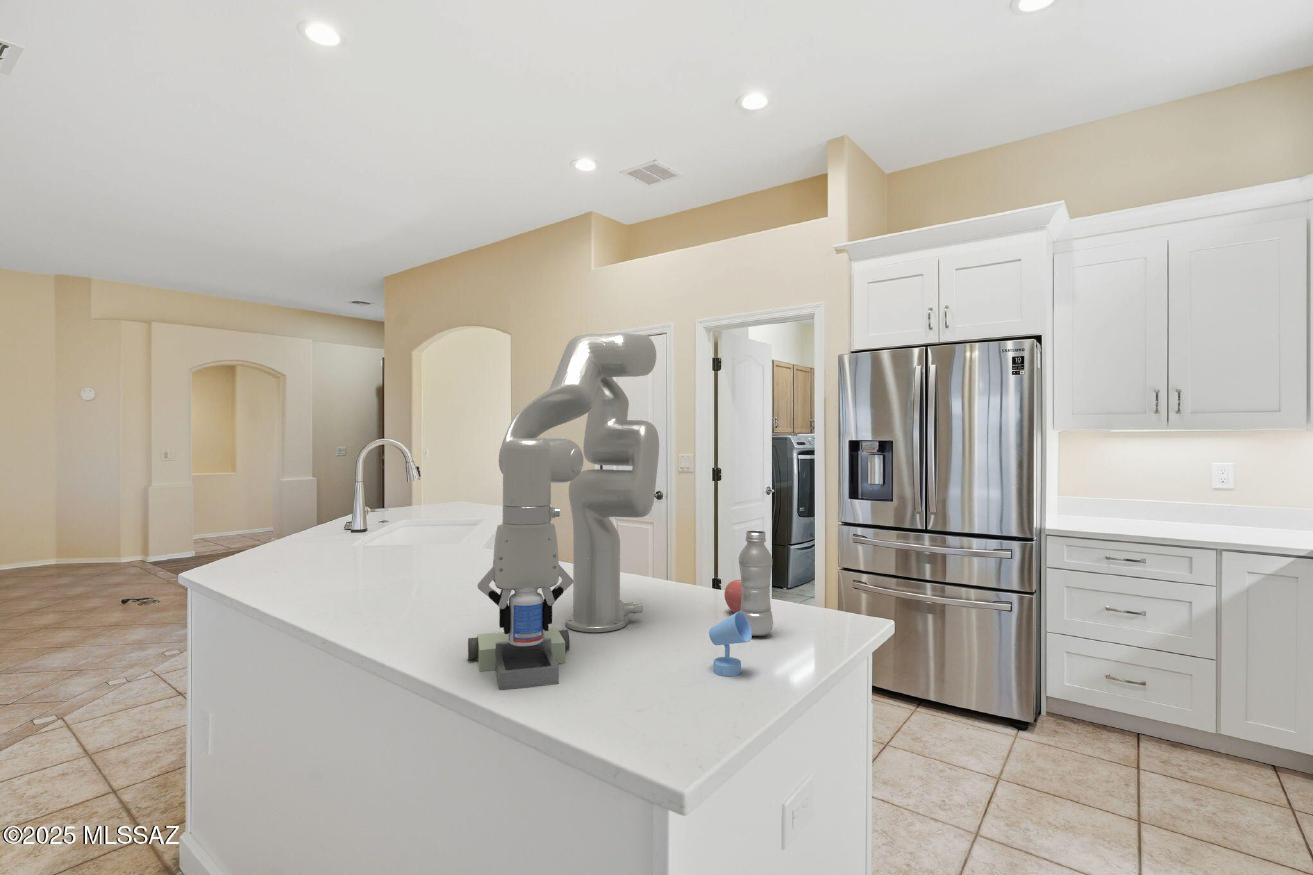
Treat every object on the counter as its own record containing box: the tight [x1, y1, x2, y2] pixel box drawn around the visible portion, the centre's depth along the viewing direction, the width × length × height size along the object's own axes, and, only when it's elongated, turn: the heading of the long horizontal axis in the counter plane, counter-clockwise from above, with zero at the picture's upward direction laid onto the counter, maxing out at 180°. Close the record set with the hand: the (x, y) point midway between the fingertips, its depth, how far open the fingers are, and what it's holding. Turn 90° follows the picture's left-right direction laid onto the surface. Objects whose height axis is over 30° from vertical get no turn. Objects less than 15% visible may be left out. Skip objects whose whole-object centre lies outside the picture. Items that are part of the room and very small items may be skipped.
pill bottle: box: [508, 588, 544, 646], centre depth 104 cm, size 6×5×10 cm
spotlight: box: [708, 611, 753, 677], centre depth 107 cm, size 5×10×7 cm
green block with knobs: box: [467, 627, 571, 672], centre depth 113 cm, size 17×9×4 cm, turn 107°
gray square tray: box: [494, 638, 560, 691], centre depth 105 cm, size 9×9×4 cm
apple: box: [723, 579, 742, 614], centre depth 143 cm, size 7×7×8 cm
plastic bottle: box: [738, 530, 774, 637], centre depth 127 cm, size 6×7×20 cm
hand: (525, 629), depth 104 cm, fingers closed on pill bottle, 5 cm apart
